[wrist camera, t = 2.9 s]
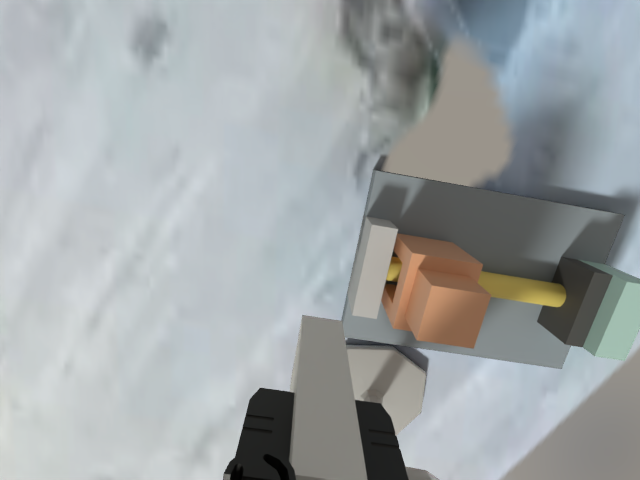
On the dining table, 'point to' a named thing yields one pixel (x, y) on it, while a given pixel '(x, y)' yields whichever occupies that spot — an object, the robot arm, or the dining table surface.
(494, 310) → the linear slide rail
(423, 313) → the sleeve
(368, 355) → the wineglass
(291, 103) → the dining table surface
